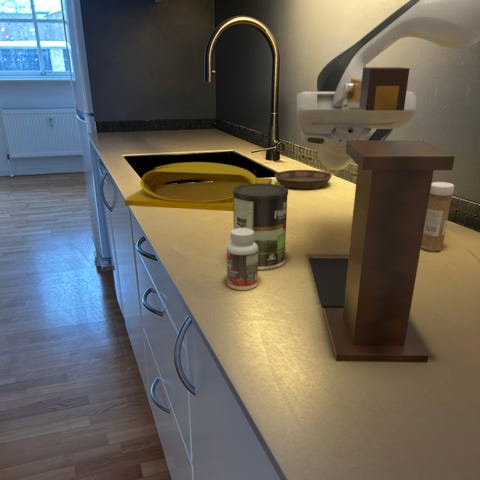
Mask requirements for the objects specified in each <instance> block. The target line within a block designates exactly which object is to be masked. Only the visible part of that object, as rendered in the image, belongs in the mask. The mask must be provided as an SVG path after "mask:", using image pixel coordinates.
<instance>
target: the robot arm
mask: <svg viewBox="0 0 480 480" xmlns="http://www.w3.org/2000/svg"><path fill="white" fill-rule="evenodd" d="M404 38H417V39H422V40H426V41H428V42H429V43H432V44H435V45H438V46H440V47H444V48H448V49H449V48H450V49H463V48H467V47H470V46H473V45H475V44H477V43H478V42H479V41H480V0H408V1H407V2H405V4H403V5H402V6H400V7H399V8H397V10H395V11H394V12H393V13H391V14H390V15H388V16H387V17H386V18H385V19H384V20H382V21H381V22H380V23H379V24H378V25H376V26H375V27H374V28H373V29H371V30H370V31H369V32H367V33H366V34H365V35H364V36H363V37H361V38H360V39H359V40H358V41H357V42H355V43H354V44H353V45H351V46H350V47H348V48H347V49H345V50H343V51H342V52H340V53H339V54H338V55H336V56H335V57H334V58H333V59H331V60H330V61H328V62H327V63H326V64H325V65H324V66H323V68H322V69H321V71H320V72H319V73H318V75H317V78H316V91H302V92H299V93H297V94H296V99H295V100H296V102H295V111H296V112H295V116H296V117H295V120H296V127H297V129H298V130H299V134H300V139H301V141H302V142H305V143H306V142H307V143H312V144H316V155H317V158H318V161H319V162H320V163H321V165H323V166H324V167H325V168H326V169H328V170H332V171H340V170H341V171H342V170H343V169H346V168H347V167H348V166H350V165H351V164H352V162H353V161H354V160H353V159H352V158H351V157H350V156H349V155H348V154H347V153H346V142H347V140H386V139H387V138H388V137H389V136H390V134H392V132H393V130H394V129H399V128H401V127H403V126H405V125H406V124H407V123H408V122H409V121H410V120H411V119H412V118H413V117H414V116H415V115H416V113H417V109H418V108H417V107H418V100H417V99H418V98H417V94H416V93H415V92H414V91H407V92H406V99H405V106H404V110H403V111H366V110H364V109H362V108H361V107H359V103H357V102H355V101H353V100H351V99H349V98H352V97H353V94H354V83H351V79H362V73H363V67H367V65H368V64H369V63H371V61H373V60H374V59H376V58H377V57H378V56H379V55H381V53H383V52H384V51H386V50H387V49H389V47H390V46H392V45H393V44H394V43H396V42H397V41H399V40H401V39H404Z"/></svg>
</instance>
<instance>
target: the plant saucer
mask: <svg viewBox="0 0 480 480" xmlns="http://www.w3.org/2000/svg"><path fill="white" fill-rule="evenodd" d="M274 177H275V179H276V181H277V182H278V183H279V184H280V186H284V187H286V188H288V189H289V188H290V189H297V190H298V189H300V190H306V189H307V190H309V189H318V188H322V187H324V186H326V185H327V184H328V182H329V181H330V180H331V178H332V177H333V175H332V174H331V173H330V172H327V171H324V170H323V171H322V170H314V169H291V170H290V169H289V170H282V171H279V172H276V173H275V174H274Z"/></svg>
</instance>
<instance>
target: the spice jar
mask: <svg viewBox="0 0 480 480" xmlns="http://www.w3.org/2000/svg"><path fill="white" fill-rule="evenodd" d="M454 192H455V184H454V183H451V182H447V181H434V182H433V181H432V184H431V190H430V196H429V202H428V208H427V214H426V220H425V226H424V232H423V238H422V244H421V249H422V250H423V251H427V252H441V251H442V250H443V249H444V241H445V236H446V232H447V226H448V219H449V212H450V208H451V200H452V197H453V194H454Z"/></svg>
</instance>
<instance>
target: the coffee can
mask: <svg viewBox="0 0 480 480" xmlns="http://www.w3.org/2000/svg"><path fill="white" fill-rule="evenodd" d="M288 195H289V188H288V187H285V186H282V185H281V184H280V185H279V184H274V183H271V184H265V183H256V184H250V183H245V184H241V185H237V186H234V187H233V188H232V196H233V212H232V213H233V229H237V228H248V229H251V230H253V231H254V241H253V242H255V243H256V244H257V245H258V271H268V270H274V269H277V268H281V267H282V266H284V264H285V263H286V241H287V240H286V239H287V217H288V214H287V213H288Z"/></svg>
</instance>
